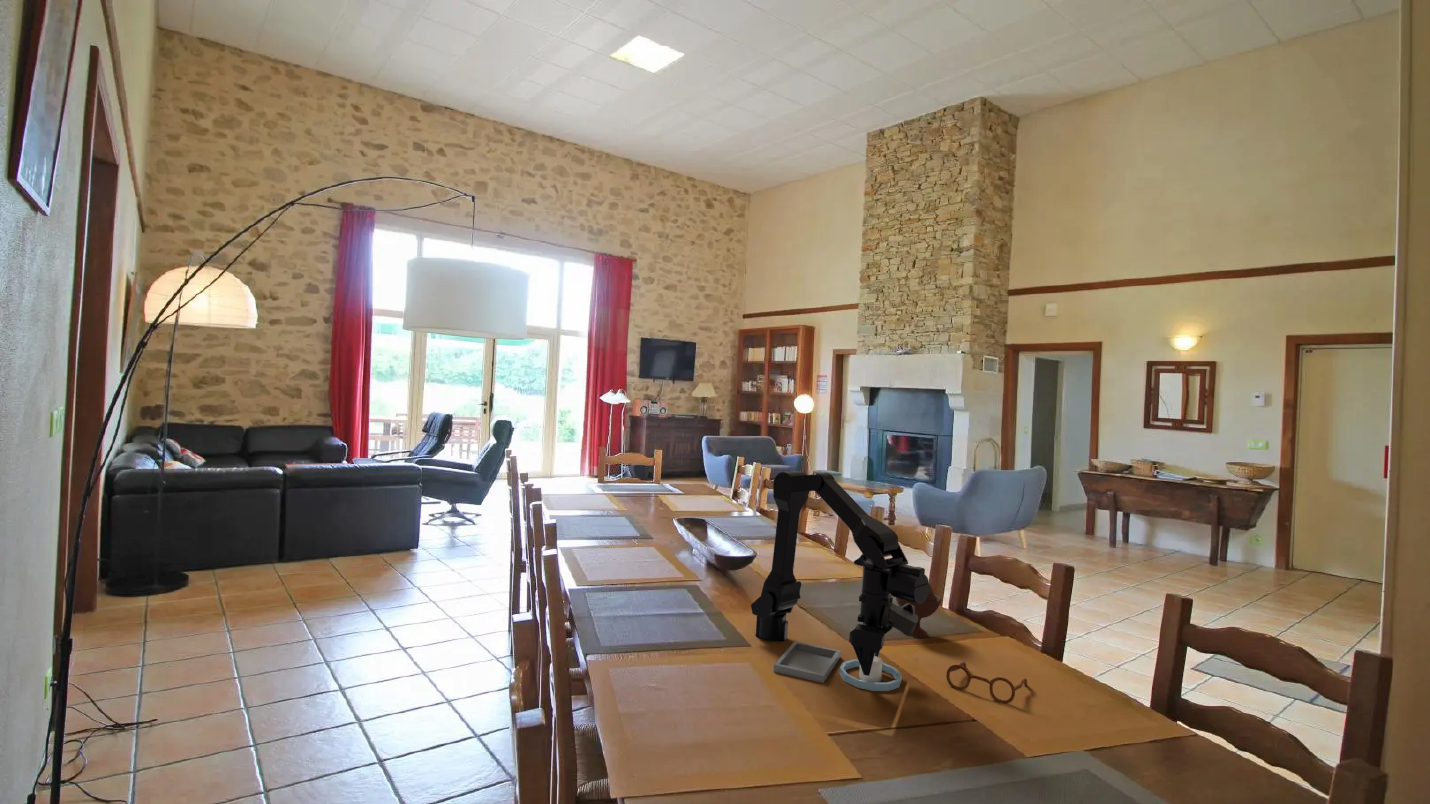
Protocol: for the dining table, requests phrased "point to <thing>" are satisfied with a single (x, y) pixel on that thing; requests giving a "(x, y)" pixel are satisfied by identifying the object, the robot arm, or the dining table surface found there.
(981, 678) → the glasses
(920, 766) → the dining table surface
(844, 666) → the blue ring
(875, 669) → the white marshmallow
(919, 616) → the ice cream bowl
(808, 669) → the parts tray
